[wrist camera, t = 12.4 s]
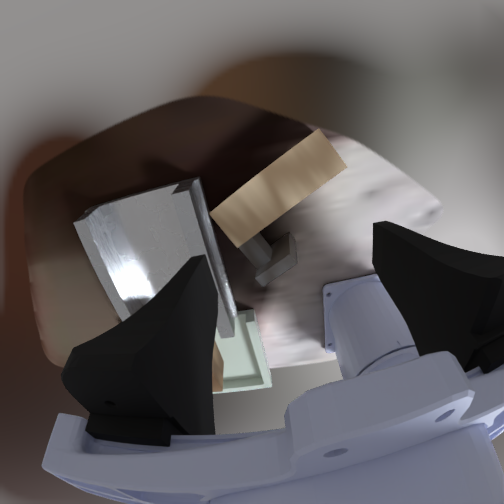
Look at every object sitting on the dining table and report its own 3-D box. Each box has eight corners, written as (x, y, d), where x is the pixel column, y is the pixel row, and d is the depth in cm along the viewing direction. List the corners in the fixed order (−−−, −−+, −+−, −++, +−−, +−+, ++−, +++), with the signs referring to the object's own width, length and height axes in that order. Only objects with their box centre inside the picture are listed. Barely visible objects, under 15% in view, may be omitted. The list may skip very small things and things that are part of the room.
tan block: (267, 259, 24) (357, 195, 21) (262, 287, 19) (377, 206, 16) (222, 203, 23) (312, 133, 20) (204, 217, 18) (320, 126, 15)
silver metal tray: (238, 311, 27) (237, 336, 24) (143, 323, 27) (135, 347, 24) (200, 176, 20) (193, 189, 17) (89, 207, 21) (70, 223, 18)
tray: (271, 375, 32) (272, 386, 30) (170, 385, 33) (168, 395, 31) (254, 308, 27) (254, 321, 25) (131, 325, 27) (126, 336, 26)
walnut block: (223, 361, 30) (222, 391, 26) (189, 364, 30) (185, 393, 26) (213, 337, 28) (211, 368, 24) (176, 341, 28) (170, 371, 24)
